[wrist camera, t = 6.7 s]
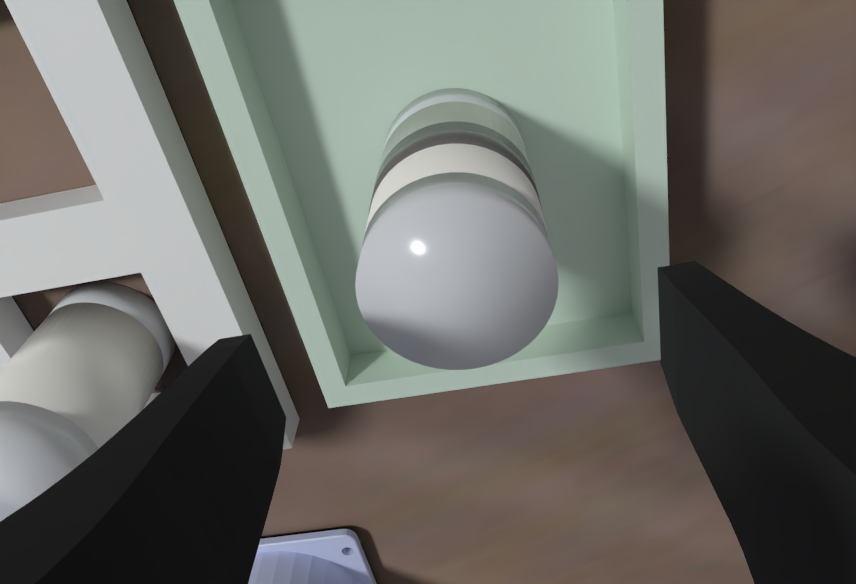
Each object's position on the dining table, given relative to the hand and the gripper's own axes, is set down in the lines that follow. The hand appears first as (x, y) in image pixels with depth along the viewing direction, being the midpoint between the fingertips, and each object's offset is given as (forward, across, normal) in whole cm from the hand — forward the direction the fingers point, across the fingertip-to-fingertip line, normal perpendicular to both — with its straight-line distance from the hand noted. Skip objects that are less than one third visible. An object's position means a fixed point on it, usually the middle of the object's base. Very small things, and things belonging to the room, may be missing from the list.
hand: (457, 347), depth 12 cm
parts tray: (+9, 0, 0) cm, 9 cm away
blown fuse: (+9, 0, 0) cm, 9 cm away
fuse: (+9, +12, +4) cm, 16 cm away
